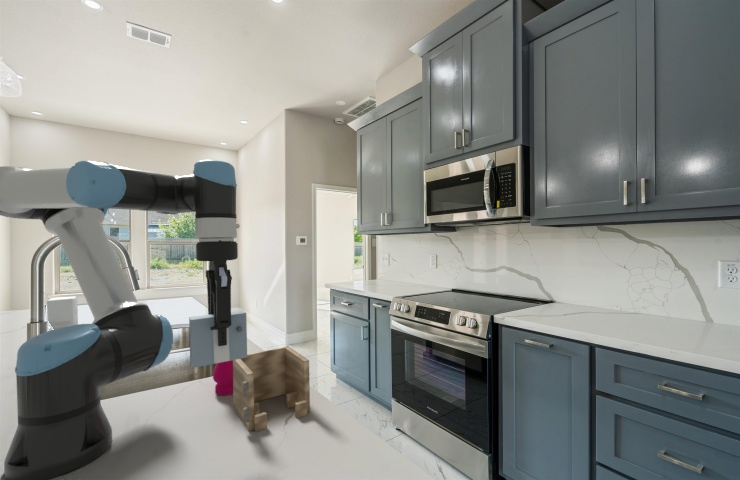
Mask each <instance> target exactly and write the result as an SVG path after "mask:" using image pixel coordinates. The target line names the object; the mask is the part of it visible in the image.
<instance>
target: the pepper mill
mask: <svg viewBox="0 0 740 480" xmlns="http://www.w3.org/2000/svg"><path fill="white" fill-rule="evenodd" d="M212 380H213V381H214V383H216V384H215V385H214V390H215V391H214V392H215V394H216V395H218V396H230V395H233V360H231V361H226V362H221V363H216V364H215V366H214V369H213V373H212Z"/></svg>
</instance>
